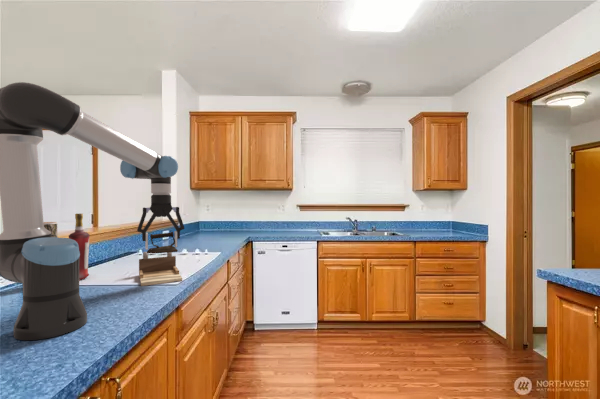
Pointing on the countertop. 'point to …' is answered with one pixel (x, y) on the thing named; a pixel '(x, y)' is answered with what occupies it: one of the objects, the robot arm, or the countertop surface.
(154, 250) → the clothes iron
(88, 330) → the countertop surface
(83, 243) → the liquor
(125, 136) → the robot arm
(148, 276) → the cradle
